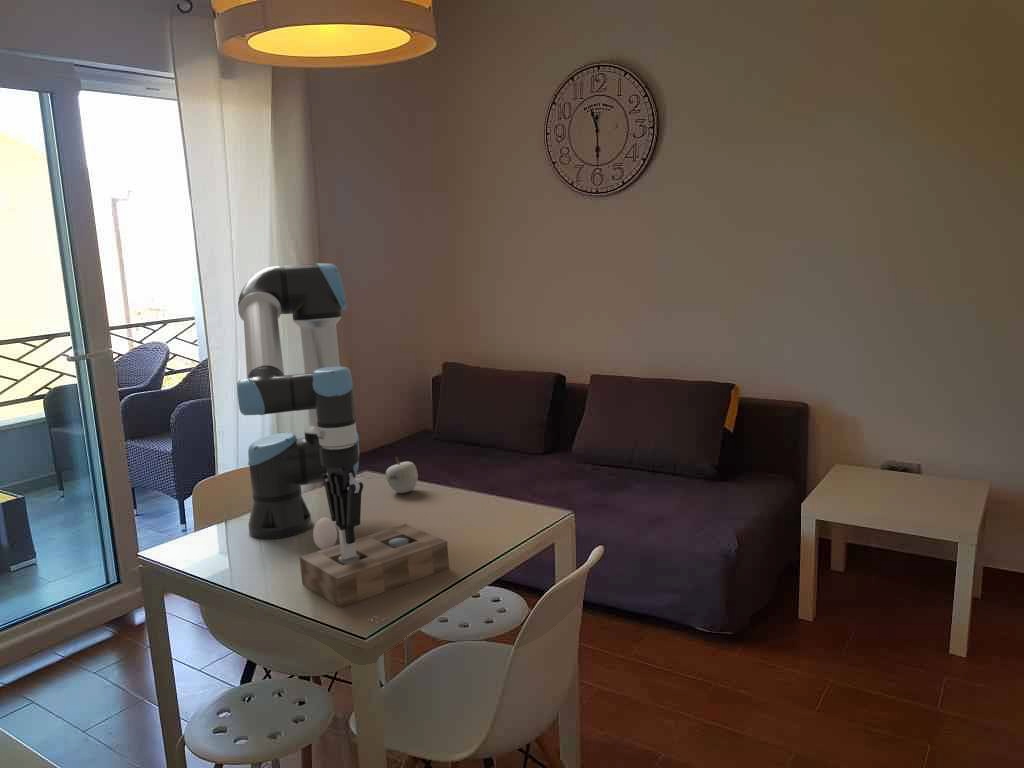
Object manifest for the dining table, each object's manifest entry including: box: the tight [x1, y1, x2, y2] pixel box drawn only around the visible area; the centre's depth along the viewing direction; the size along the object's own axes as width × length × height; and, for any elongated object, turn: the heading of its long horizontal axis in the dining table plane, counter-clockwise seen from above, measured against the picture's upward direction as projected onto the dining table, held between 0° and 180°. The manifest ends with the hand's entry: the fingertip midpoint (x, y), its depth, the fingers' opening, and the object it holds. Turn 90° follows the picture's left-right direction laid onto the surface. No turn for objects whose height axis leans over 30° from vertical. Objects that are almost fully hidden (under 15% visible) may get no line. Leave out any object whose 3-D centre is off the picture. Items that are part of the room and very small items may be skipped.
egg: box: [312, 517, 338, 550], centre depth 188 cm, size 5×5×8 cm
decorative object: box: [385, 457, 419, 494], centre depth 228 cm, size 9×9×10 cm
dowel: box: [339, 554, 360, 565], centre depth 168 cm, size 4×4×6 cm
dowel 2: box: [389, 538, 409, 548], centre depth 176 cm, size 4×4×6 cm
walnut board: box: [299, 523, 450, 609], centre depth 172 cm, size 16×26×6 cm, turn 131°
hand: (348, 556), depth 167 cm, fingers closed
